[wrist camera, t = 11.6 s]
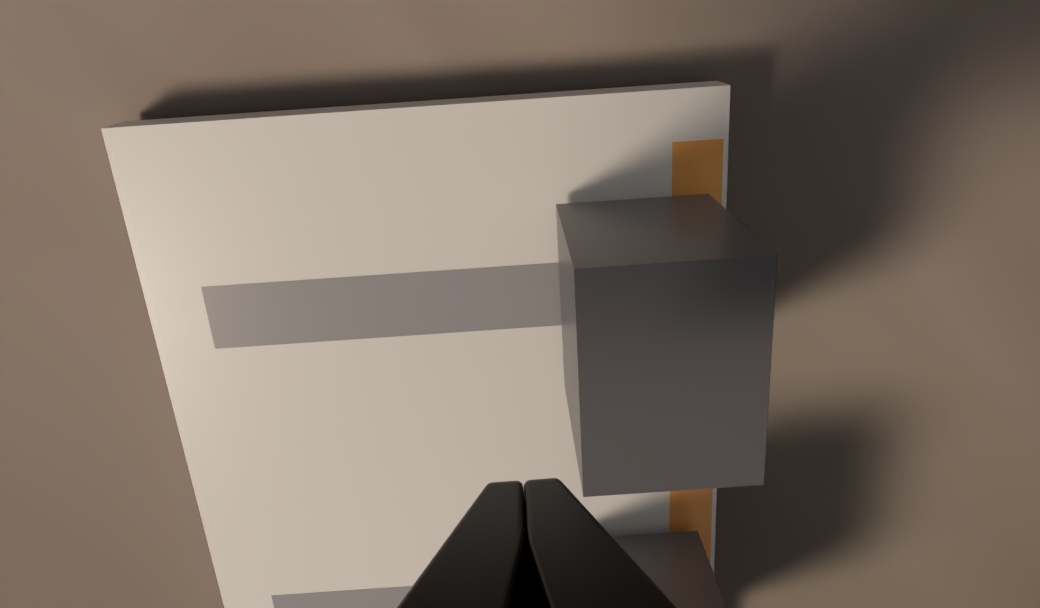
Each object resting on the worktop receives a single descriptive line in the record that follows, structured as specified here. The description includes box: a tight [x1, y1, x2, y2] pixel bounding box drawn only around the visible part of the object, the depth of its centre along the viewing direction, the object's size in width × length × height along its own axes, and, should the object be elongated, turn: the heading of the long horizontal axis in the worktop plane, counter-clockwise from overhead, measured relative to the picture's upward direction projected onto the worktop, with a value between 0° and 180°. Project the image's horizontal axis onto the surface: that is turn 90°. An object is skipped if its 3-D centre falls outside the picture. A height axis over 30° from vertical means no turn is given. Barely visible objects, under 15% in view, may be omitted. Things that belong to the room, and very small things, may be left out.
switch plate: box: [101, 81, 730, 608], centre depth 18 cm, size 12×16×1 cm
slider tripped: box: [556, 194, 777, 497], centre depth 14 cm, size 3×4×4 cm
